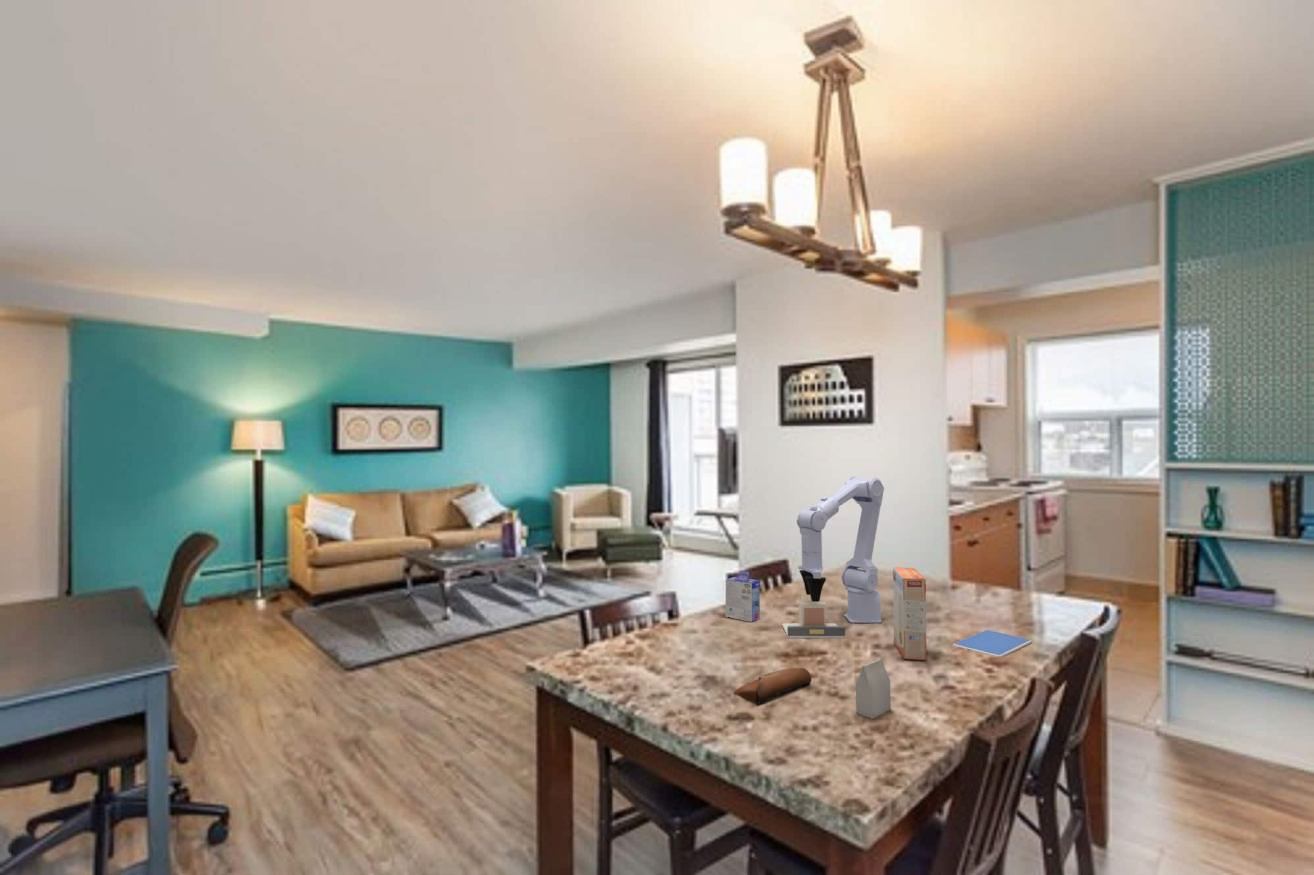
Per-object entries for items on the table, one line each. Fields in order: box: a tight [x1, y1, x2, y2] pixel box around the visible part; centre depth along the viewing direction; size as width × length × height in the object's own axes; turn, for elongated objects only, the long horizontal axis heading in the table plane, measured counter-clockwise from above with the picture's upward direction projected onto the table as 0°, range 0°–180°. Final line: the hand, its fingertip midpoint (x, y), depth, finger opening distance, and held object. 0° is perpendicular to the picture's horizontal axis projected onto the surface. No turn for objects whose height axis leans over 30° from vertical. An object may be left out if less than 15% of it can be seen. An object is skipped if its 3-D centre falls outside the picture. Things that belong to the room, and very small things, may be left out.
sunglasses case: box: [733, 667, 812, 706], centre depth 140 cm, size 18×7×7 cm
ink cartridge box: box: [725, 570, 761, 623], centre depth 196 cm, size 10×6×14 cm, turn 53°
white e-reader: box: [781, 622, 846, 639], centre depth 181 cm, size 16×12×3 cm
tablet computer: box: [952, 629, 1033, 658], centre depth 167 cm, size 19×13×1 cm, turn 127°
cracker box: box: [892, 567, 927, 661], centre depth 163 cm, size 14×6×21 cm, turn 168°
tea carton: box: [798, 600, 827, 626], centre depth 180 cm, size 4×7×8 cm, turn 88°
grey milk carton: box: [855, 658, 892, 719], centre depth 128 cm, size 4×7×10 cm, turn 128°
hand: (812, 597), depth 181 cm, fingers open, 7 cm apart
